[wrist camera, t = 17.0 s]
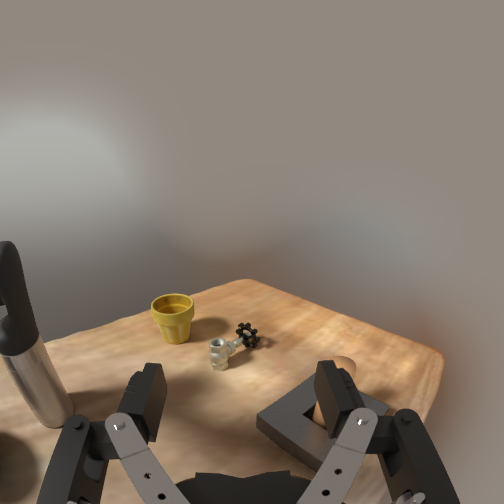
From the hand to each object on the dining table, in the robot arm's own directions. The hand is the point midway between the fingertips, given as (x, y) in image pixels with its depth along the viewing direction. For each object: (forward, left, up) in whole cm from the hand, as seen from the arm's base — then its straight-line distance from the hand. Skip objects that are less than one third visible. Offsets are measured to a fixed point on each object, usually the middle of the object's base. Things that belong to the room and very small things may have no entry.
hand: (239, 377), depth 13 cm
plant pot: (-46, +16, -30) cm, 57 cm away
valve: (-31, +22, -30) cm, 48 cm away
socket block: (-5, +21, -30) cm, 37 cm away
